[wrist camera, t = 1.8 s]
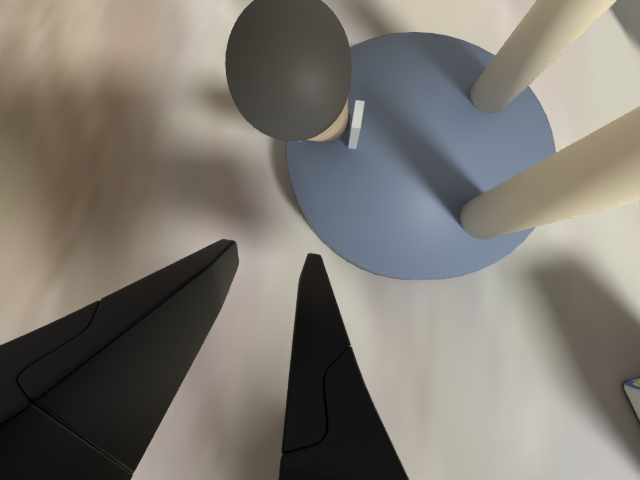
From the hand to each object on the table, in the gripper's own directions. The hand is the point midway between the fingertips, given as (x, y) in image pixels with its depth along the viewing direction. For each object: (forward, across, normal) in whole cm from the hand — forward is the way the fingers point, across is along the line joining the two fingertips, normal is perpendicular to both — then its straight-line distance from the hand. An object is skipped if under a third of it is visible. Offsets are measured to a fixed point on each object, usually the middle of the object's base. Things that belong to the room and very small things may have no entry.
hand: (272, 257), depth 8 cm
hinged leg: (+13, 0, -2) cm, 13 cm away
